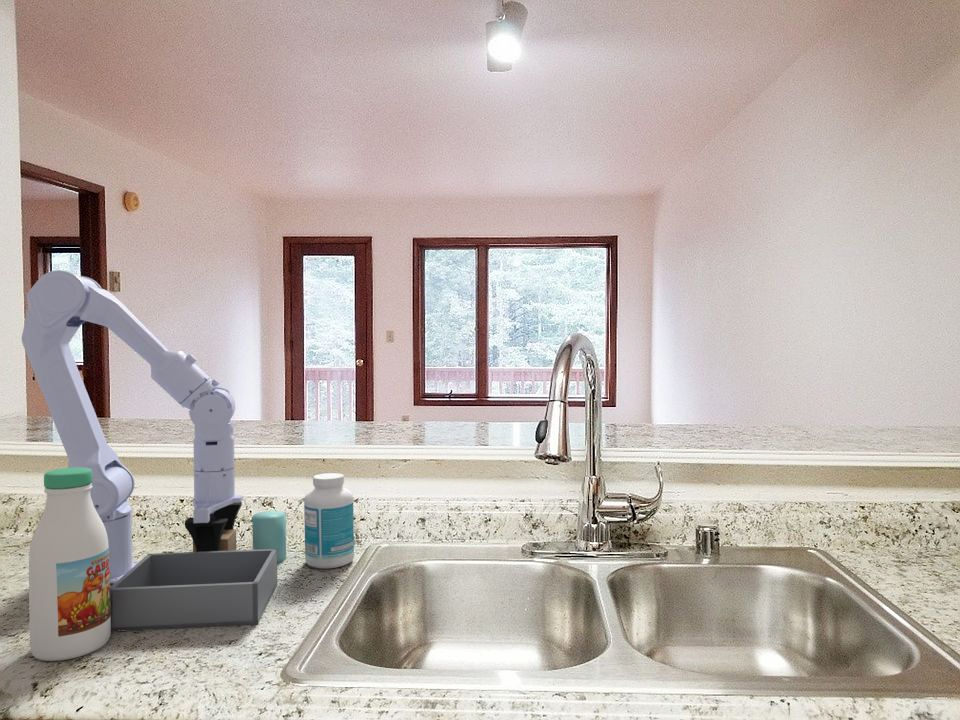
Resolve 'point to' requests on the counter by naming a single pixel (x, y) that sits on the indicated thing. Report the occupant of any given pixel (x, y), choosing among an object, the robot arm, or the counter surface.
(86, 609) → the milk bottle
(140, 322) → the robot arm
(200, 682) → the counter surface
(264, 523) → the teal cylinder
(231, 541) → the walnut cube
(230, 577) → the tote
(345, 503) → the pill bottle
